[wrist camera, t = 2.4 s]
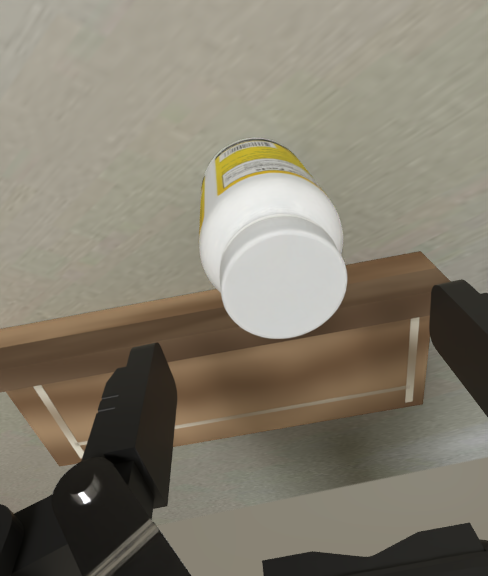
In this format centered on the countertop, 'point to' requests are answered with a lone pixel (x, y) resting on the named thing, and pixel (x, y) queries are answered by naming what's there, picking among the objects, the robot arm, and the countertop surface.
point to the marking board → (231, 360)
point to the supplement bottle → (270, 240)
